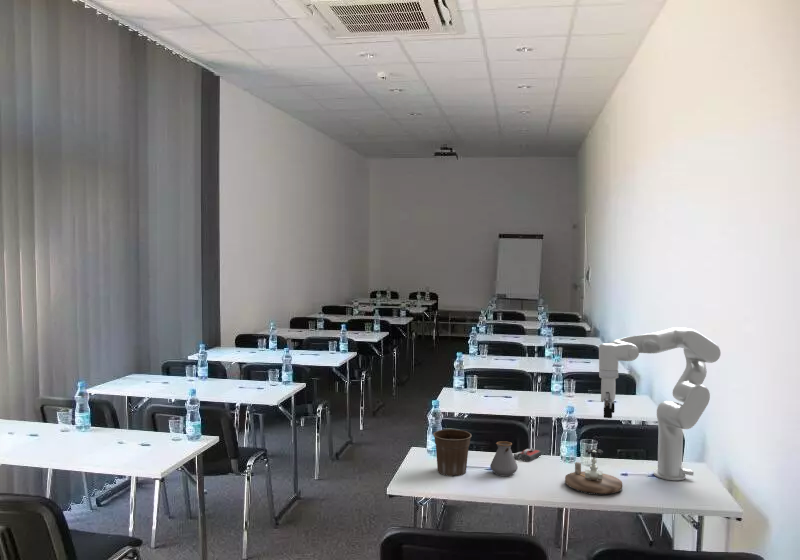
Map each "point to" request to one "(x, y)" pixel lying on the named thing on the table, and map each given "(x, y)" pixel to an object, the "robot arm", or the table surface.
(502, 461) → the coffee pot
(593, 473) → the valve
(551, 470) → the table surface
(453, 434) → the plant pot
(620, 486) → the turntable platter
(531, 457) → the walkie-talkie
